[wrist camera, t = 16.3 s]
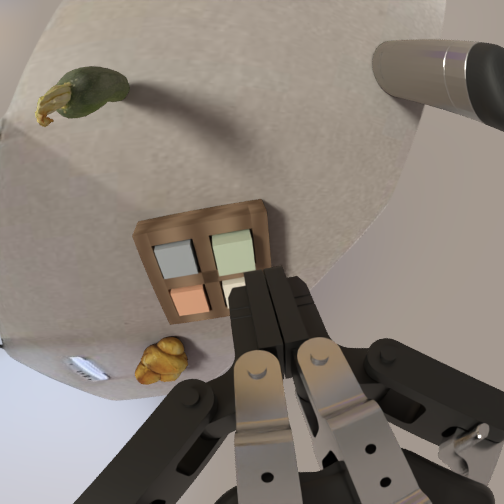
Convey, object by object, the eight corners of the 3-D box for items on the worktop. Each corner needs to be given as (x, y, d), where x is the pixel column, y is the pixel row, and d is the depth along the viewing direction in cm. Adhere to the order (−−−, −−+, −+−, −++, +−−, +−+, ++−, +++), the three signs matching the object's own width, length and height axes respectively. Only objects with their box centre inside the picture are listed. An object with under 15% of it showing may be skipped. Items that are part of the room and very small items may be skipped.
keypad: (261, 199, 38) (266, 211, 35) (269, 291, 49) (274, 307, 46) (138, 221, 37) (132, 236, 34) (171, 308, 48) (170, 324, 44)
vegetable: (114, 69, 25) (20, 66, 8) (146, 72, 26) (73, 63, 10) (106, 101, 27) (10, 133, 11) (137, 105, 28) (60, 136, 12)
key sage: (248, 227, 37) (251, 239, 35) (252, 257, 40) (255, 270, 38) (211, 233, 37) (212, 246, 34) (218, 263, 40) (219, 276, 37)
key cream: (253, 267, 43) (256, 279, 40) (256, 290, 46) (258, 303, 43) (221, 272, 43) (222, 285, 40) (226, 295, 46) (228, 308, 43)
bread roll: (162, 326, 50) (159, 359, 44) (201, 344, 55) (203, 376, 49) (134, 353, 55) (130, 383, 48) (170, 368, 59) (169, 397, 53)
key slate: (190, 232, 38) (189, 244, 35) (198, 260, 41) (198, 273, 38) (157, 238, 37) (154, 250, 35) (166, 266, 40) (164, 279, 38)
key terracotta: (202, 276, 42) (202, 289, 40) (208, 298, 45) (209, 311, 43) (171, 281, 42) (170, 294, 40) (180, 302, 45) (179, 316, 43)
